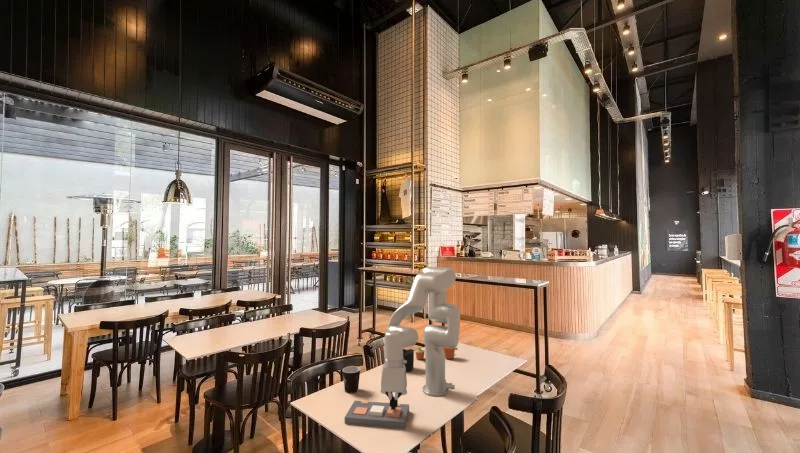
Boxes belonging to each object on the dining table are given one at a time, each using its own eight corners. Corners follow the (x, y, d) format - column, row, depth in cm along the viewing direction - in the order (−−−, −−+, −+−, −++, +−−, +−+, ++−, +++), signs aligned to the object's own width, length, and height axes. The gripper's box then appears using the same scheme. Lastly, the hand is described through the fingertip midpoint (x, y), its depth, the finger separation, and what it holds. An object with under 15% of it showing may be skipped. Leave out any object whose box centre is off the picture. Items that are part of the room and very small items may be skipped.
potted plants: (445, 350, 224) (445, 335, 225) (460, 357, 211) (460, 341, 211) (411, 357, 212) (411, 341, 212) (425, 365, 198) (425, 348, 198)
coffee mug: (343, 386, 170) (343, 366, 170) (360, 386, 171) (360, 365, 171) (341, 397, 158) (341, 375, 159) (359, 396, 159) (359, 375, 159)
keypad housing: (409, 411, 145) (409, 403, 146) (404, 430, 132) (404, 421, 132) (354, 407, 149) (354, 399, 149) (344, 425, 135) (344, 416, 135)
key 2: (401, 412, 140) (401, 407, 140) (399, 418, 135) (399, 413, 135) (389, 411, 141) (389, 406, 141) (386, 417, 136) (386, 412, 136)
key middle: (384, 411, 141) (384, 406, 141) (381, 417, 136) (381, 412, 136) (372, 410, 142) (372, 405, 142) (369, 416, 137) (369, 411, 137)
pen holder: (404, 373, 186) (404, 354, 186) (394, 368, 193) (393, 350, 194) (417, 369, 192) (417, 351, 192) (406, 364, 199) (406, 347, 199)
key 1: (368, 412, 142) (367, 407, 142) (364, 419, 137) (364, 414, 137) (356, 411, 143) (356, 407, 143) (352, 418, 138) (352, 413, 138)
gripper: (413, 360, 141) (413, 405, 140) (377, 358, 143) (377, 402, 143) (410, 366, 134) (410, 414, 133) (373, 364, 136) (373, 411, 135)
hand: (393, 408), depth 138 cm, fingers closed
